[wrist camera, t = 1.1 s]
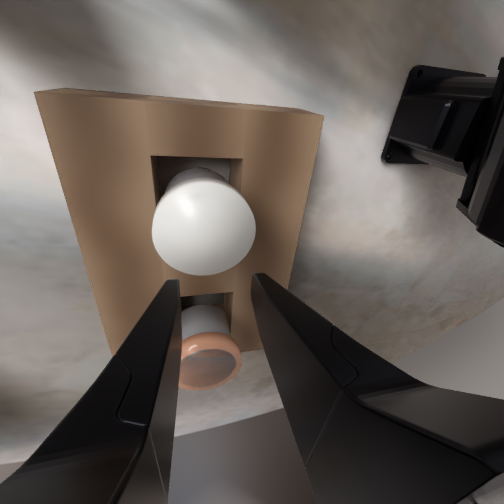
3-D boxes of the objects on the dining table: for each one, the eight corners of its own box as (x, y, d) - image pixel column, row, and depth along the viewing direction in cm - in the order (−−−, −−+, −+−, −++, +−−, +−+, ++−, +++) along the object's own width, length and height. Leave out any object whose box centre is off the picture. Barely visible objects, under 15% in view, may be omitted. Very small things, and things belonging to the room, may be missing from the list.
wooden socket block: (297, 108, 18) (324, 115, 15) (264, 316, 29) (275, 347, 26) (64, 88, 15) (33, 92, 12) (123, 332, 26) (116, 370, 22)
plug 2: (233, 297, 20) (244, 339, 17) (230, 339, 23) (239, 383, 20) (167, 303, 19) (165, 350, 16) (171, 347, 22) (171, 395, 18)
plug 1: (242, 161, 15) (260, 185, 12) (237, 235, 18) (251, 272, 14) (152, 158, 14) (145, 184, 11) (160, 238, 16) (157, 279, 13)
